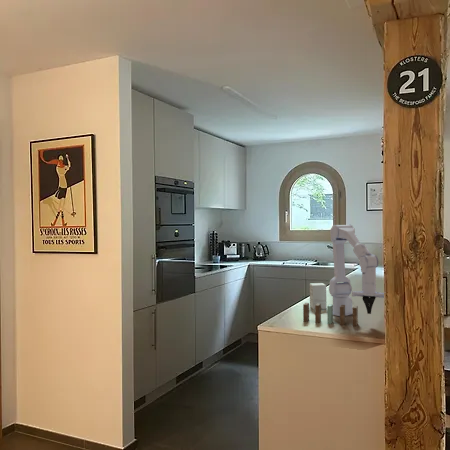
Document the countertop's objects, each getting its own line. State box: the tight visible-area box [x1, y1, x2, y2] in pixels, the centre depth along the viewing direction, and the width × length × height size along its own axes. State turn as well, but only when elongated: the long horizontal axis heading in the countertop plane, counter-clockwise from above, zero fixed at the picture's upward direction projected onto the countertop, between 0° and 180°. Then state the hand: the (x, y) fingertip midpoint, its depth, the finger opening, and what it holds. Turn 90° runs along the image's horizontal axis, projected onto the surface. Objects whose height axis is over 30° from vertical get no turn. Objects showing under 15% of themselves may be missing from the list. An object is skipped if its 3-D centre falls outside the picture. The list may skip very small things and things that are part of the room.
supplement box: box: [309, 282, 328, 310], centre depth 245 cm, size 7×7×13 cm
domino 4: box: [339, 305, 346, 326], centre depth 209 cm, size 2×5×8 cm, turn 157°
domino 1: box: [302, 302, 310, 323], centre depth 216 cm, size 2×5×8 cm, turn 157°
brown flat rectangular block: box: [352, 305, 359, 327], centre depth 207 cm, size 2×5×8 cm, turn 157°
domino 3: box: [326, 303, 334, 325], centre depth 211 cm, size 2×5×8 cm, turn 157°
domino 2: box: [314, 303, 322, 324], centre depth 214 cm, size 2×5×8 cm, turn 157°
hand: (369, 313), depth 205 cm, fingers closed
